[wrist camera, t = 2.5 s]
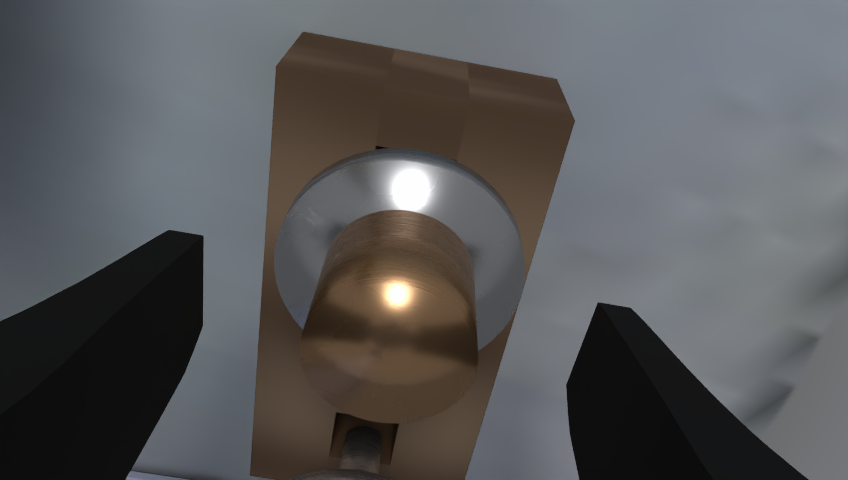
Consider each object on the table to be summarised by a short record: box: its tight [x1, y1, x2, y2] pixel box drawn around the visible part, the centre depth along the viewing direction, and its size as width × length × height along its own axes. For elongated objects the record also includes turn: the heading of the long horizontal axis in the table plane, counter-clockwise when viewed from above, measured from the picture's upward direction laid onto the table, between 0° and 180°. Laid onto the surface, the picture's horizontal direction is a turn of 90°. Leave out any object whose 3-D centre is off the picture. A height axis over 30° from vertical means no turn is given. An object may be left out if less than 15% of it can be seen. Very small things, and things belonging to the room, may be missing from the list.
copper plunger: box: [274, 148, 525, 423], centre depth 14 cm, size 5×5×6 cm
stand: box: [250, 32, 575, 480], centre depth 20 cm, size 14×7×3 cm, turn 170°
